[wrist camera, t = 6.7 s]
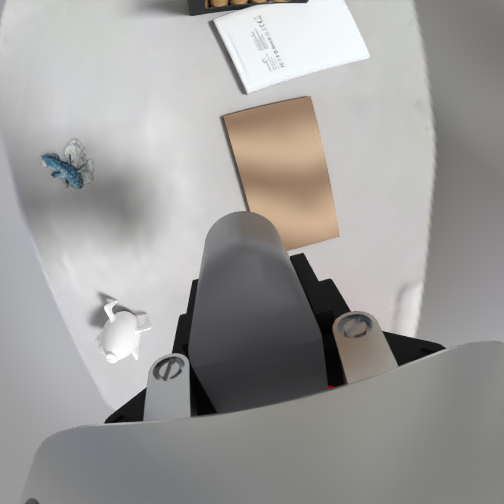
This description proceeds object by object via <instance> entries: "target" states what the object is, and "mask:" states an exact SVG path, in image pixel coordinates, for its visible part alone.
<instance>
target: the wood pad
mask: <svg viewBox="0 0 504 504" xmlns="http://www.w3.org/2000/svg"><path fill="white" fill-rule="evenodd" d="M223 117H224V120H225V124H226V127H227V131H228V134H229V138H230V141H231V145H232V148H233V152H234V155H235V159H236V162H237V166H238V170H239V173H240V177H241V180H242V184H243V187H244V191H245V195H246V198H247V202H248V205H249V209H250V212H253V213H257V214H260V215H262V216H264V217H265V218H267V219H268V220H269V221H270V222H271V223H272V224H273V225H274V226H275V227H276V229H277V231H278V233H279V235H280V237H281V240H282V242H283V244H284V246H285V249H286V251H289V250H292V249H296V248H300V247H303V246H307V245H311V244H314V243H318V242H322V241H325V240H329V239H332V238H336V237H340V236H339V230H338V223H337V217H336V212H335V206H334V200H333V195H332V189H331V184H330V179H329V174H328V169H327V164H326V160H325V155H324V150H323V146H322V141H321V137H320V132H319V128H318V124H317V120H316V116H315V112H314V108H313V104H312V100H311V96H309V97H304V98H299V99H293V100H288V101H284V102H279V103H274V104H270V105H265V106H261V107H257V108H253V109H249V110H245V111H241V112H237V113H233V114H230V115H226V116H223Z"/></svg>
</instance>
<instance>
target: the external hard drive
mask: <svg viewBox="0 0 504 504" xmlns="http://www.w3.org/2000/svg"><path fill="white" fill-rule="evenodd" d="M290 1H291V0H285V1H284V2H290ZM269 2H272V1H269ZM213 22H214V24H215V26H216V28H217V30H218V32H219V34H220V36H221V38H222V41H223V43H224V45H225V47H226V49H227V50H228V52H229V54H230V57H231V59H232V61H233V64H234V66H235V68H236V71H237V73H238V75H239V77H240V80H241V82H242V84H243V86H244V88H245V91H246V93H247V95H248V94H251V93H254V92H257V91H259V90H262V89H265V88H268V87H271V86H274V85H277V84H280V83H283V82H286V81H289V80H292V79H295V78H298V77H302V76H305V75H308V74H312V73H315V72H318V71H322V70H326V69H329V68H333V67H337V66H341V65H345V64H349V63H353V62H357V61H362V60H366V59H369V58H370V56H369V53H368V50H367V48H366V45H365V43H364V41H363V39H362V36H361V34H360V32H359V30H358V28H357V26H356V23H355V21H354V19H353V17H352V15H351V13H350V11H349V9H348V7H347V5H346V3H345V1H344V0H309V1H308V2H307V3H277V4H262V5H255V6H251V7H248V8H245V9H241V10H238V11H235V12H232V13H229V14H226V15H223V16H221V17H218V18H215V19H213Z"/></svg>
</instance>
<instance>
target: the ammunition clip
mask: <svg viewBox="0 0 504 504" xmlns="http://www.w3.org/2000/svg"><path fill="white" fill-rule="evenodd" d="M269 1H272V2H269ZM284 1H285V0H188V4H189V9H190V15H191V16H195V15H201V14H208V13H215V12H222V11H231V10H241V9H245V8H248V7H251V6H255V5H262V4H277V3H307V2H308V1H309V0H291V1H290V2H284Z"/></svg>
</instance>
